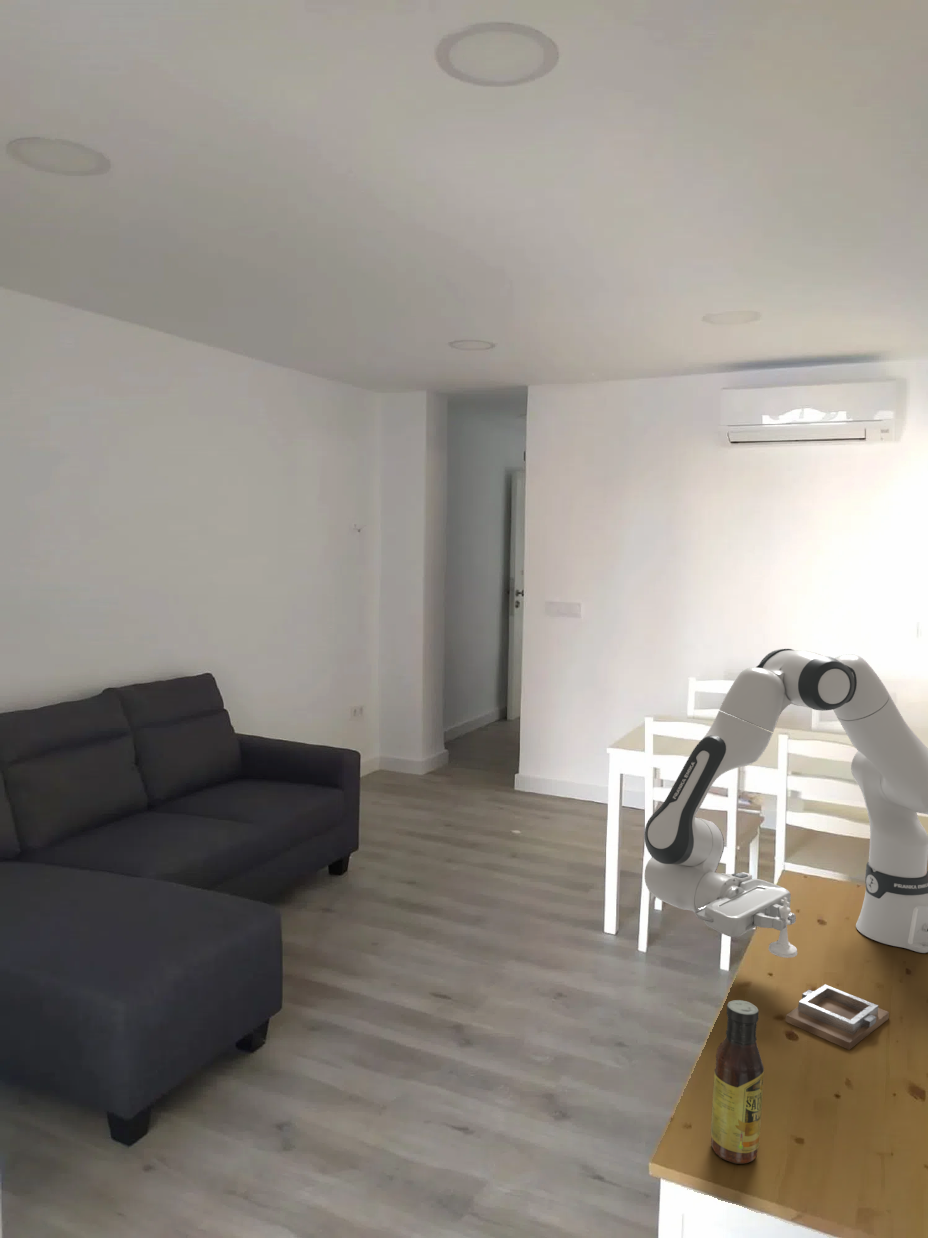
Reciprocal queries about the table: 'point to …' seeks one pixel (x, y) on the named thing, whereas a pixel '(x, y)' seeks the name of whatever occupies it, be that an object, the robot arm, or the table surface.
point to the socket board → (833, 1032)
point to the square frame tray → (850, 1026)
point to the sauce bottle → (738, 1087)
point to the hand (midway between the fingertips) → (789, 922)
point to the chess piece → (783, 936)
